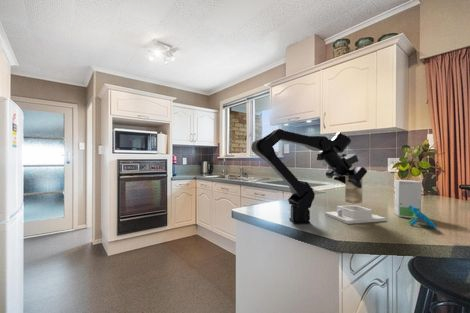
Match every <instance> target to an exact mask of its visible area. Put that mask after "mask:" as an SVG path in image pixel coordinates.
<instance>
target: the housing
mask: <svg viewBox="0 0 470 313" xmlns="http://www.w3.org/2000/svg"><path fill="white" fill-rule="evenodd" d="M324 215H325V216H326V217H329V218H332V219H334V220H337V221H338V222H341V223H344V224H346V225H350V224H351V225H352V224H363V223H364V224H365V223H375V222H376V223H377V222H386V221H387V220H386V218H387V217H383V216H381V215H377V214H373V209H370V208H369V207H363V206H360V205H356V204H352V205H336V211H324Z"/></svg>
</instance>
